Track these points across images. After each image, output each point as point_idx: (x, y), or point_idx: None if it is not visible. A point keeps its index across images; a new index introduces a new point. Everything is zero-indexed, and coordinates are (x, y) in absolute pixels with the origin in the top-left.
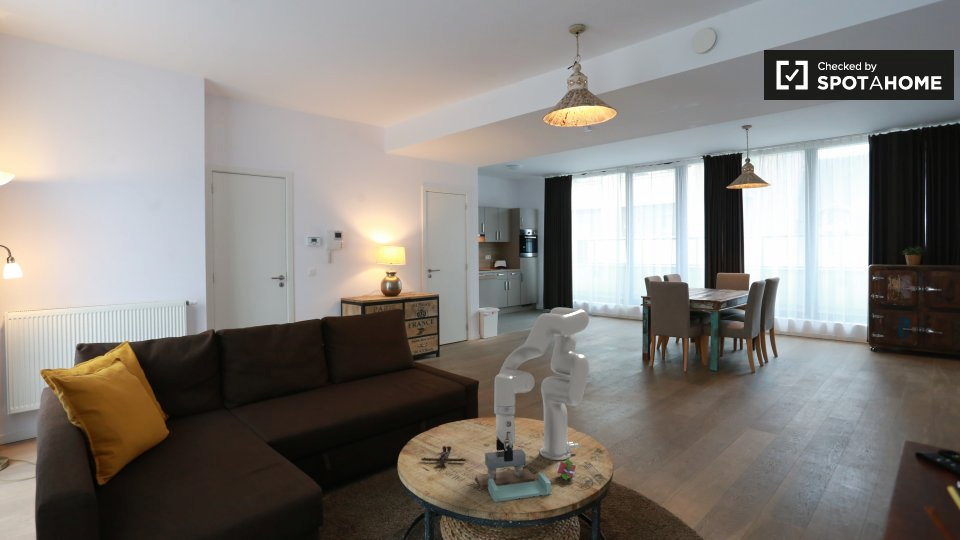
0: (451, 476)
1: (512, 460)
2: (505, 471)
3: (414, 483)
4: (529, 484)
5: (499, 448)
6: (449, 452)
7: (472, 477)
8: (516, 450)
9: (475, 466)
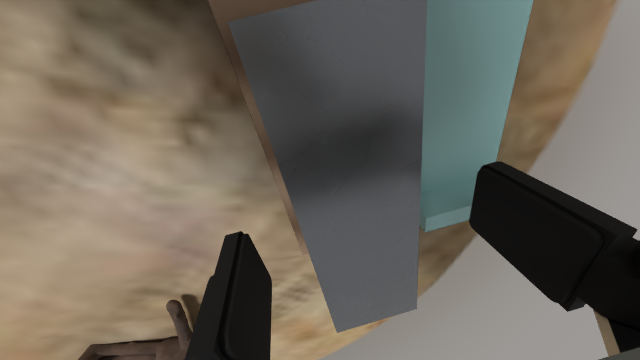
0: (293, 304)
1: (496, 163)
2: (263, 143)
3: (330, 351)
4: (432, 2)
5: (264, 281)
6: (108, 350)
7: (300, 256)
8: (289, 115)
9: (202, 260)
